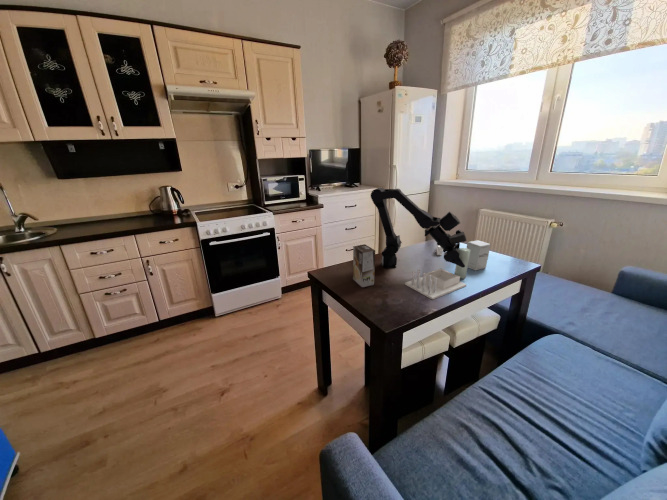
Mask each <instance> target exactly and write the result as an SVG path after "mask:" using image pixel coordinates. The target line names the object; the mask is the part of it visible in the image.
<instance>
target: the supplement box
mask: <svg viewBox="0 0 667 500" xmlns="http://www.w3.org/2000/svg"><path fill="white" fill-rule="evenodd" d="M465 248H466V249H469V250H470V256H469V261H468V267H467V269H468V268H469V269H471V270H473V271H478V270H483V269H486V268H487V263H488V260H489V253H490V248H491V243H488V242H486V241H482V240H478V239H477V240H471V241H468V242H467V243H466V247H465Z"/></svg>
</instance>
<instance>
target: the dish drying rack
mask: <svg viewBox="0 0 667 500" xmlns="http://www.w3.org/2000/svg"><path fill="white" fill-rule="evenodd" d="M415 273H416V272H415V271H412V277H411V280H409V281H406V282H404V285H405V286H407V287H408V288H410V289H412V290H414V291H416V292H418V293H419V294H421V295H423V296H425V297H427V298H428V299H431V300H435V299H437V298H440V297H442V296H445V295H448V294H450V293H452V292H455V291H458V290H460V289H462V288H465V287H467V284H466V283H464V282H463V281H460V276H457V275H455V273H452V272H451V271H448V270H445V269H443V268H439V269H438V268H437V269H435V270H433V271H429V272H423V274H422V276H421V274H420V273H421V271H420V269H417V275H416V276H417V277H416V278H415Z"/></svg>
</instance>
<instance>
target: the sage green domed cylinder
mask: <svg viewBox="0 0 667 500" xmlns="http://www.w3.org/2000/svg"><path fill="white" fill-rule="evenodd" d="M466 248H467V247H459V249H458V251H459V252H460V255H459V257H460V258H461V260H462V262H463V263H464V265H465V267H464V268H463V267H460V266H458V265H456V264H455V269H454V274H455V275H457V276H460V279H461V280H464V279H466V278H467V272H468V261H469V256H470V250H469V249H466Z"/></svg>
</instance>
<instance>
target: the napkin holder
mask: <svg viewBox="0 0 667 500" xmlns="http://www.w3.org/2000/svg"><path fill="white" fill-rule="evenodd" d="M442 255H443V249H442V248H441V247H440V246H438V245H437V244H436V256H440V257H441V256H442Z"/></svg>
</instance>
